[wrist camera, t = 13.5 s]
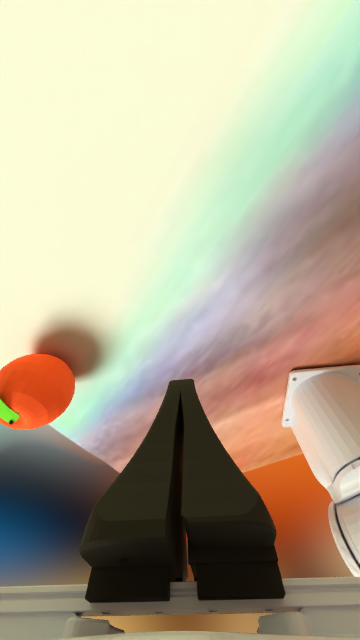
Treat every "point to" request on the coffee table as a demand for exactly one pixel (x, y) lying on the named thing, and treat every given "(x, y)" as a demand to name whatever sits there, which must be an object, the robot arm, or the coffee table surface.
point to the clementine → (34, 391)
